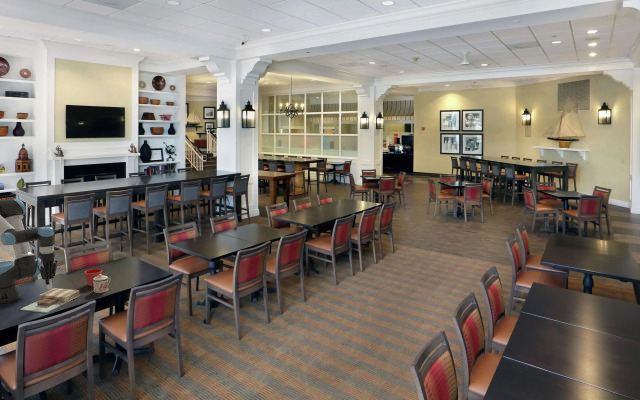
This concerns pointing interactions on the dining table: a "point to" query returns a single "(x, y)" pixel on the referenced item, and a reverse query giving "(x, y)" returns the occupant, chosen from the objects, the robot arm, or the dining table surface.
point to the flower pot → (92, 275)
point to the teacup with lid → (101, 283)
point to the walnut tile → (47, 302)
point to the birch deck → (61, 294)
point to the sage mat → (42, 307)
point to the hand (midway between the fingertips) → (49, 288)
